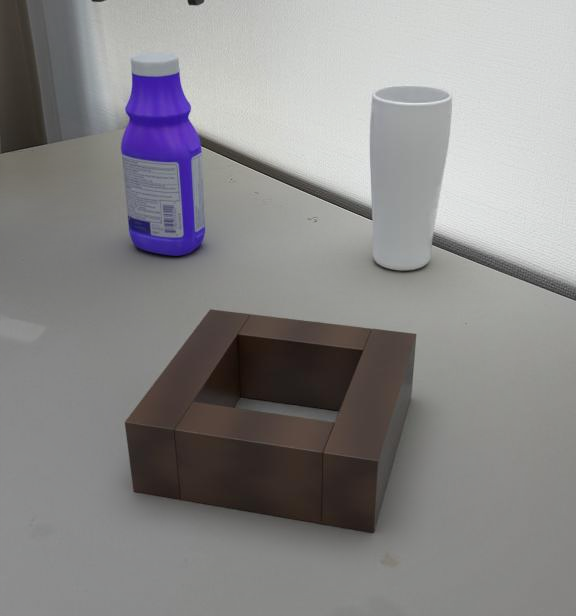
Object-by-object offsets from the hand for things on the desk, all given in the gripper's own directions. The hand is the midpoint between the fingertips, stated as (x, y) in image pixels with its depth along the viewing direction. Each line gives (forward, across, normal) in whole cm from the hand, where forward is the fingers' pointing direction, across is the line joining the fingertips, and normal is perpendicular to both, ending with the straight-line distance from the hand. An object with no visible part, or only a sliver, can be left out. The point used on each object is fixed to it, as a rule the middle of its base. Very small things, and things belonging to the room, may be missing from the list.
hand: (148, 2), depth 72 cm
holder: (+22, +19, -28) cm, 40 cm away
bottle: (+22, 0, 0) cm, 22 cm away
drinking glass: (+22, +22, +2) cm, 31 cm away
